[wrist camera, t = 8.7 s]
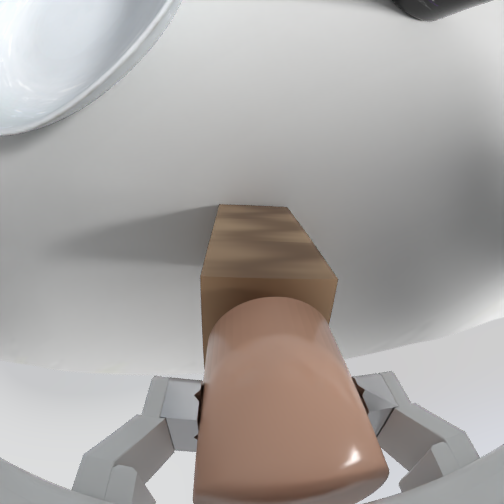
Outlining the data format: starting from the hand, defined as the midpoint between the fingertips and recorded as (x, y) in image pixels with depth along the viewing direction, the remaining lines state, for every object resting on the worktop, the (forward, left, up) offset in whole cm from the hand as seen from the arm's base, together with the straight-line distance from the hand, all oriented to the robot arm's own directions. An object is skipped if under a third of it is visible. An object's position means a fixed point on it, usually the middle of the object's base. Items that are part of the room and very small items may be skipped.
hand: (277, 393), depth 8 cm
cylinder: (0, 0, -2) cm, 2 cm away
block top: (0, 0, -7) cm, 7 cm away
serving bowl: (+15, -19, -15) cm, 29 cm away
